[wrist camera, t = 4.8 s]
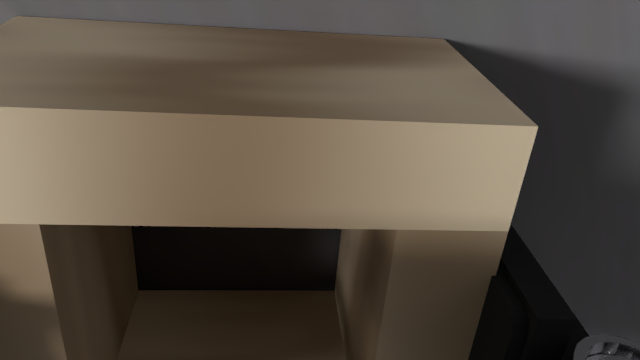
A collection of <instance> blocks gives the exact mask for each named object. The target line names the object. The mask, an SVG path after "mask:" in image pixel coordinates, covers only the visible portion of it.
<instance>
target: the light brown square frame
mask: <svg viewBox="0 0 640 360" xmlns="http://www.w3.org/2000/svg"><path fill="white" fill-rule="evenodd" d="M537 130H538V126H537V125H536V124H535V123H534V122H533V121H532V120H531V119H530V118H529V117H528V116H527V115H525V114H524V113H523V112H522V111H521V110H520V109H519V108H518V107H517V106H516V105H515V104H514V103H513V102H511V101H510V100H509V99H508V98H507V97H506V96H505V95H504V94H503V93H502V92H501V91H500V90H499V89H497V88H496V87H495V86H494V85H493V84H492V83H491V82H490V81H489V80H488V79H487V78H486V77H485V76H483V75H482V74H481V73H480V72H479V71H478V70H477V69H476V68H475V67H474V66H473V65H472V64H471V63H469V62H468V61H467V60H466V59H465V58H464V57H463V56H462V55H461V54H460V53H459V52H458V51H457V50H455V49H454V48H453V47H452V46H451V45H450V44H449V43H448V42H447V41H446V40H445V39H434V38H415V37H397V36H378V35H360V34H341V33H323V32H304V31H285V30H267V29H248V28H230V27H211V26H193V25H174V24H155V23H137V22H118V21H100V20H81V19H63V18H44V17H26V16H16V17H14V18H12V19H10V20H8V21H7V22H5V23H3V24H1V25H0V360H468V358H469V355H470V351H471V347H472V344H473V340H474V337H475V333H476V330H477V326H478V323H479V319H480V316H481V312H482V308H483V305H484V301H485V298H486V294H487V291H488V287H489V284H490V280H491V277H492V276H496V273H497V270H498V266H499V263H500V259H501V256H502V252H503V249H504V245H505V242H506V238H507V235H508V231H509V228H510V224H511V221H512V217H513V214H514V210H515V207H516V203H517V200H518V196H519V193H520V189H521V186H522V182H523V179H524V175H525V172H526V168H527V165H528V161H529V158H530V154H531V151H532V147H533V144H534V140H535V137H536V133H537ZM131 226H183V227H250V228H318V229H341V238H340V247H339V256H338V265H337V274H336V283H335V291H237V290H138V282H137V273H136V264H135V255H134V246H133V236H132V227H131Z"/></svg>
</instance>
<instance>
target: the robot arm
mask: <svg viewBox="0 0 640 360" xmlns="http://www.w3.org/2000/svg"><path fill="white" fill-rule="evenodd" d="M468 360H640V344H638V343H636V342H634V341H631V340H629V339H626V338H622V337H618V336H613V335H593V336H589V335H588V334H587V332H586V331H585V329H584V328H583V326H582V325H581V324H580V322H579V321H578V319H577V318H576V316H575V315H574V314H573V312H572V311H571V309H570V308H569V306H568V305H567V304H566V302H565V301H564V299H563V298H562V296H561V295H560V294H559V292H558V291H557V289H556V288H555V286H554V285H553V284H552V282H551V281H550V279H549V278H548V276H547V275H546V274H545V272H544V271H543V269H542V268H541V266H540V265H539V264H538V262H537V261H536V259H535V258H534V256H533V255H532V254H531V252H530V251H529V249H528V248H527V247H526V245H525V244H524V242H523V241H522V239H521V238H520V237H519V235H518V234H517V232H516V231H515V229H514V228H513V227H512V225H511V224H510V228H509V231H508V235H507V238H506V242H505V245H504V249H503V252H502V256H501V259H500V263H499V266H498V270H497V273H496V276H492V277H491V280H490V284H489V287H488V291H487V294H486V298H485V301H484V305H483V308H482V312H481V316H480V319H479V323H478V326H477V330H476V333H475V337H474V340H473V344H472V347H471V351H470V355H469V358H468Z"/></svg>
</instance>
